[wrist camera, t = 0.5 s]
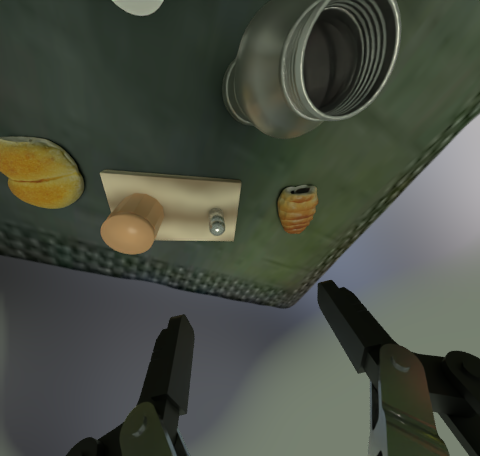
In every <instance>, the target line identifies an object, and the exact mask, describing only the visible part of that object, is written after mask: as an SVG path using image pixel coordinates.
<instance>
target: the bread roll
mask: <svg viewBox="0 0 480 456" xmlns="http://www.w3.org/2000/svg"><path fill="white" fill-rule="evenodd" d="M0 171H1V172H2V173H3V174H5V175H6V176H7V177H9V180H8V186H9V188H10V190H11V191H12V192H13V194H14V195H16V196H17V197H18V198H20V199H21V200H23V201H24V202H27V203H29V204H32V205H35V206H39V207H43V208H51V209H56V208H63V207H66V206H68V205H70V204H72V203H74V202H75V201H76V200H77V199H78V198H79V197H80V196H81V194H82V193H83V190H84V180H83V177H82V175H81V174H80V173H79V171H78V167H77V164H76V163H75V161H74V160H73V159H72V157H71V156H70V155H69V154H68V153H67V152H66V151H65V150H64V149H63V148H61V147H60V146H58V145H57V144H55V143H53V142H51V141H49V140H46V139H41V138H35V137H23V136H22V137H21V136H20V137H14V136H10V137H0Z"/></svg>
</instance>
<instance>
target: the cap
mask: <svg viewBox="0 0 480 456" xmlns="http://www.w3.org/2000/svg"><path fill="white" fill-rule="evenodd" d="M163 218H164V210H163V207H162V205H161V204H160V203H159V202H158V200H157V199H155V198H153V197H151V196H149V195H147V194H140V193H134V194H132V195H130V196H128V197H125V198H124V199H123V201H122V202H121V203H120V204H119V205H118V206H117V207H116V208H115V209H114V210H113V212H112V213H111V214H110V215H109V216H108V218H107V220H106V221H105V222H104V223H103V225H102V227H101V236H102V238H103V240H104V241H105V243H106V244H107V245H108V246H110V247H111V248H112V249H114V250H116V251H118V252H121V253H125V254H139V253H143V252H145V251H147V250H148V249H149V248H150V247H151V246H152V244H153V242H154V240H155V238H156V236H157V233H158V231H159V228H160V226H161V223H162V221H163Z"/></svg>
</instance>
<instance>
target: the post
mask: <svg viewBox="0 0 480 456" xmlns="http://www.w3.org/2000/svg"><path fill="white" fill-rule="evenodd" d="M209 231H210V233H211V234H213V235H215V236H219V235H222V234H223V233H224V231H225V221H224V214H223V211H222V210H221V209H220V208H212V209H211V210H210V211H209Z"/></svg>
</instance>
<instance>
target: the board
mask: <svg viewBox="0 0 480 456" xmlns="http://www.w3.org/2000/svg"><path fill="white" fill-rule="evenodd" d="M100 176H101V179H102V182H103V186H104V189H105V193H106V196H107V200H108V203H109V206H110V210H111V213H112V212H113V210H114V209H115V208H116V207H117V206H118V205H119V204H120V203H121V202H122V201H123V199H124V198H125V197H128V196H130V195H132V194H134V193H140V194H147V195H149V196H151V197H153V198H155V199H157V200H158V202H159V203H160V204H161V205H162V207H163V210H164V218H163V221H162V223H161V226H160V228H159V231H158V233H157V236H156V238H155V240H184V241H234V235H235V227H236V220H237V212H238V205H239V197H240V190H241V181H240V180H233V179H220V178H208V177H195V176H182V175H169V174H156V173H143V172H130V171H117V170H104V171H102V172H100ZM212 208H220V209H221V210H222V211H223V214H224V221H225V231H224V233H223V234H222V235H219V236H215V235H213V234H211V233H210V231H209V211H210V210H211V209H212Z"/></svg>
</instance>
